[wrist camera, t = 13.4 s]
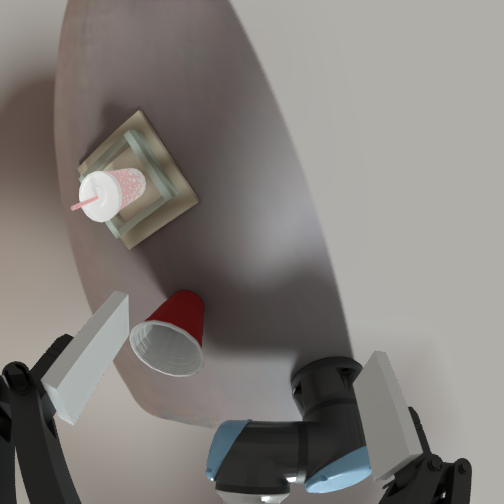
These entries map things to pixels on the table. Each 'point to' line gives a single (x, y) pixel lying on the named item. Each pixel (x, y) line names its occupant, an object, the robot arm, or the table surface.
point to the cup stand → (156, 176)
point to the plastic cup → (172, 336)
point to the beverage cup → (109, 192)
